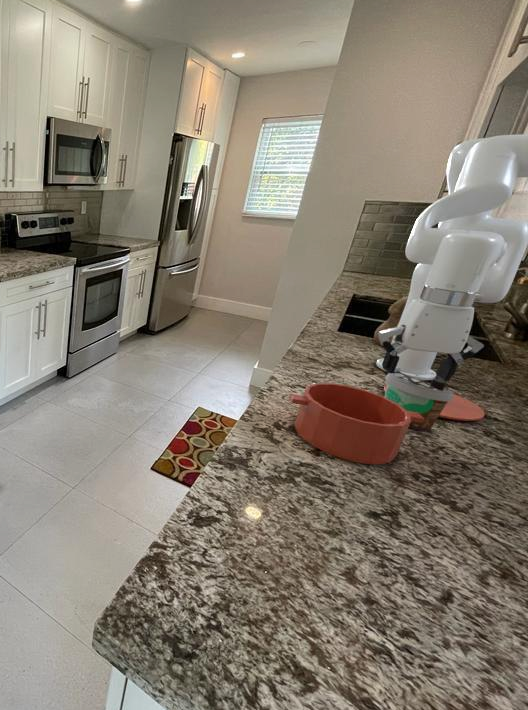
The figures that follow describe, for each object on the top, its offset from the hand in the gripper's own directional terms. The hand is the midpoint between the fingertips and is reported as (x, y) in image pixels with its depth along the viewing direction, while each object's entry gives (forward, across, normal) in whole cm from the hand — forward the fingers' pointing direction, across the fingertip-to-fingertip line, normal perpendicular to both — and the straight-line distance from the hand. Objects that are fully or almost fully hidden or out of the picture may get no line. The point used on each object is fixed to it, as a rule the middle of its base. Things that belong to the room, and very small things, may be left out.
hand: (414, 374), depth 88 cm
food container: (+12, 0, 0) cm, 12 cm away
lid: (+10, -12, -12) cm, 20 cm away
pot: (+12, +15, +12) cm, 23 cm away
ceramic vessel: (+11, -26, -52) cm, 60 cm away
